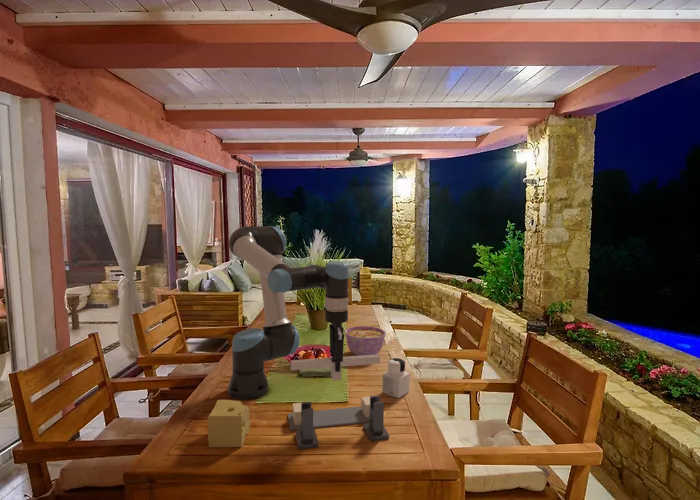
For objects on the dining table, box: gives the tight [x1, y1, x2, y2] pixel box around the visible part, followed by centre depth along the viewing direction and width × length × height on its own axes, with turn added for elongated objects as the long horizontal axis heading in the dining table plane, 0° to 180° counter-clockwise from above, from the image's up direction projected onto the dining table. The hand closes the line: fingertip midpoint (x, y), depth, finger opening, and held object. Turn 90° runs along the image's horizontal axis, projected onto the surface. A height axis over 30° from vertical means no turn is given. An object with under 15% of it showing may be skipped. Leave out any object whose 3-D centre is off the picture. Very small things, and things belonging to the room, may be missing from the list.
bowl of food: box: [344, 325, 387, 356], centre depth 194 cm, size 20×20×12 cm
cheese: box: [207, 399, 251, 448], centre depth 120 cm, size 10×11×10 cm
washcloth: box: [298, 367, 331, 378], centre depth 173 cm, size 13×18×3 cm
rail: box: [290, 353, 381, 371], centre depth 132 cm, size 30×2×2 cm, turn 103°
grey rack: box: [295, 395, 390, 451], centre depth 122 cm, size 28×8×11 cm, turn 103°
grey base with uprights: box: [287, 396, 370, 432], centre depth 134 cm, size 31×10×5 cm, turn 103°
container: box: [381, 357, 411, 399], centre depth 153 cm, size 8×8×13 cm
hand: (335, 377), depth 132 cm, fingers closed on rail, 2 cm apart
